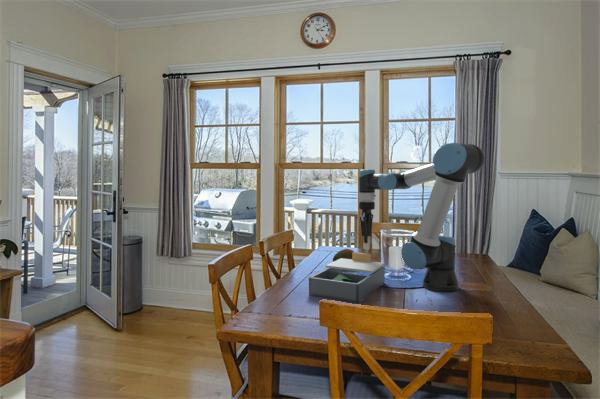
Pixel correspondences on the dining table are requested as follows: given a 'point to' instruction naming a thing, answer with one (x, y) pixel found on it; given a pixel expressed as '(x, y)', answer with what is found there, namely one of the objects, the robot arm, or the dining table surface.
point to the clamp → (343, 278)
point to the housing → (345, 285)
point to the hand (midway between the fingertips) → (366, 249)
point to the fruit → (343, 254)
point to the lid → (357, 263)
